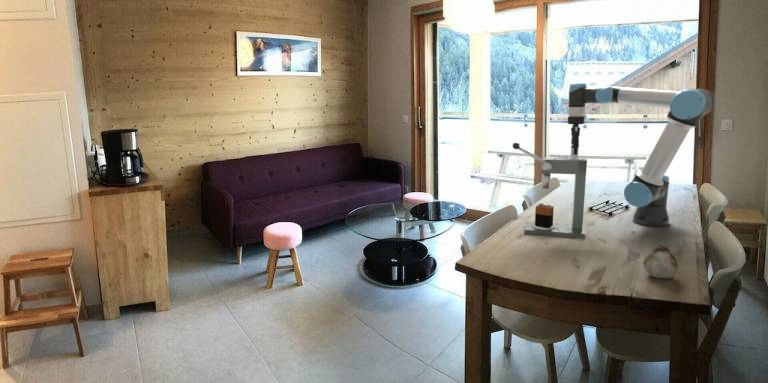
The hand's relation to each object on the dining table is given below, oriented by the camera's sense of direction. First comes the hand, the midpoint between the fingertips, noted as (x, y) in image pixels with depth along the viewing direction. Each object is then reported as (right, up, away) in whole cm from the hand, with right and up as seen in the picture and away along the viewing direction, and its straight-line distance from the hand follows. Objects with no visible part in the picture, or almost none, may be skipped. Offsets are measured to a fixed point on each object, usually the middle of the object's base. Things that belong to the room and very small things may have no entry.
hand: (574, 159), depth 240 cm
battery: (-22, -31, -20) cm, 43 cm away
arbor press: (-20, -34, -20) cm, 44 cm away
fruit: (0, -45, -73) cm, 86 cm away
